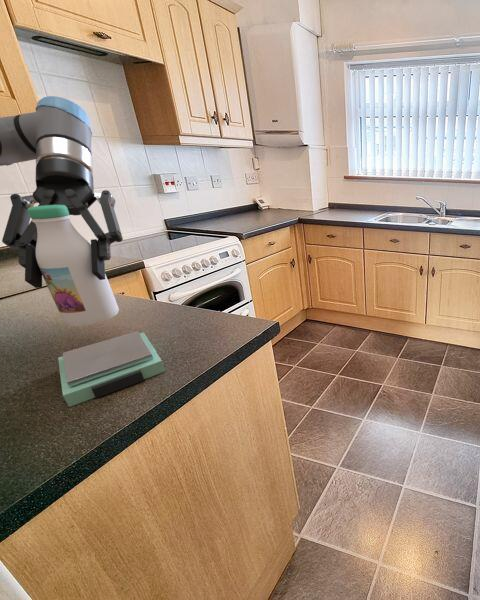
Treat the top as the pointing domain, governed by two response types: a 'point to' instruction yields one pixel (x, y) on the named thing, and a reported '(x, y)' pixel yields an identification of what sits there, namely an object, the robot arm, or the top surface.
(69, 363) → the scale pan
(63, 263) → the milk bottle
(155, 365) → the scale
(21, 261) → the robot arm
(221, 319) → the top surface
